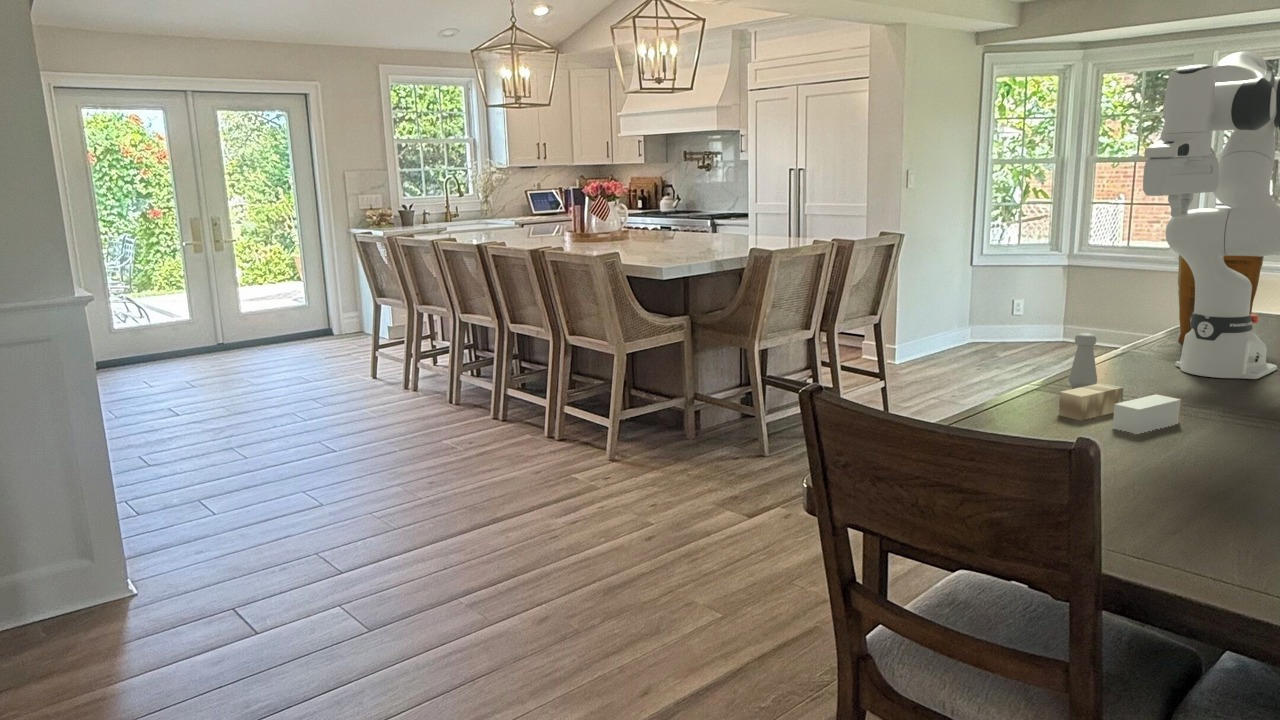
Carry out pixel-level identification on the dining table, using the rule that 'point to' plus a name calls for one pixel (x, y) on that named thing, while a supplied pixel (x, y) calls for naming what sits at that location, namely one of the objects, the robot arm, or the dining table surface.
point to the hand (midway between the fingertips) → (1178, 216)
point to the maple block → (1089, 401)
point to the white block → (1146, 414)
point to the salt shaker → (1083, 362)
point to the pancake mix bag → (1186, 285)
